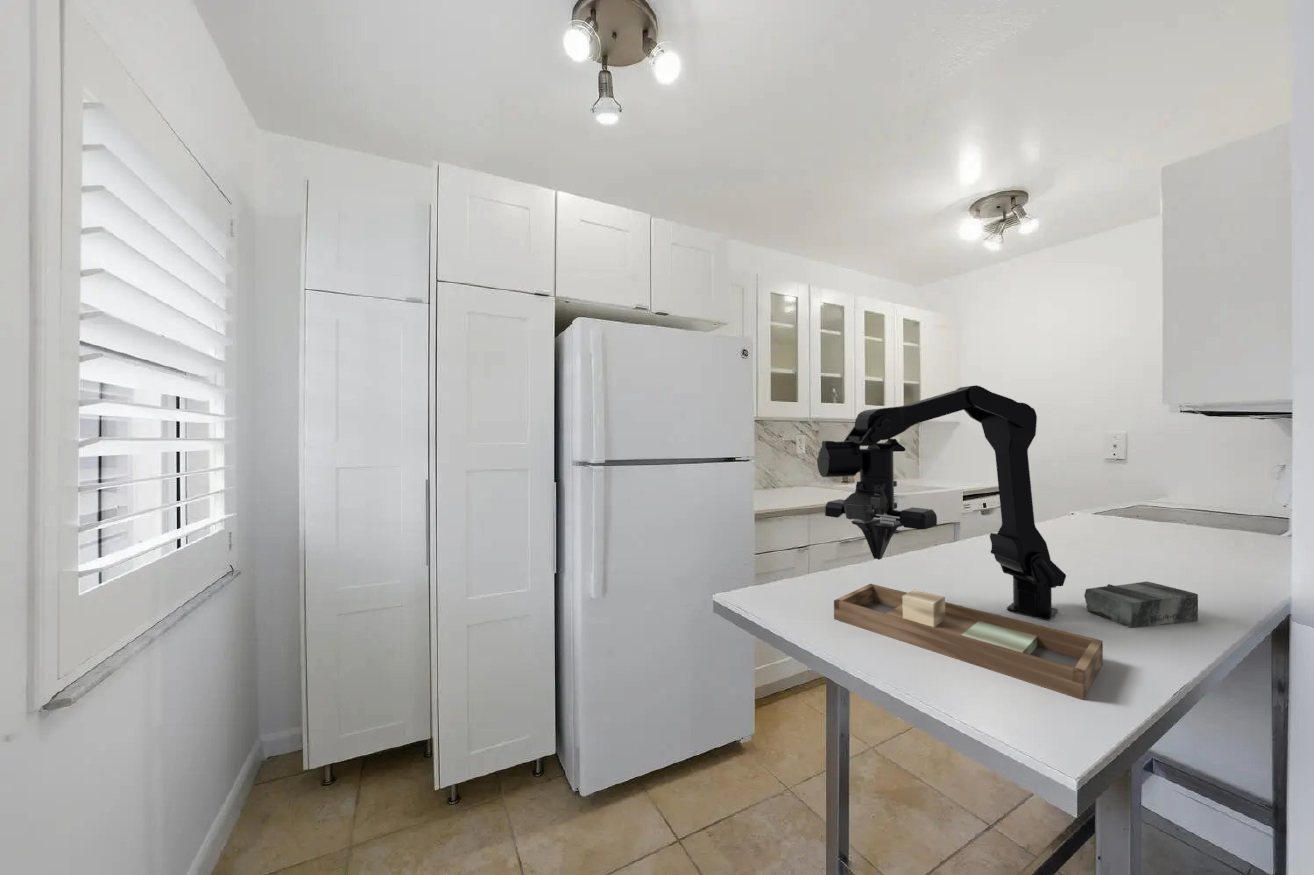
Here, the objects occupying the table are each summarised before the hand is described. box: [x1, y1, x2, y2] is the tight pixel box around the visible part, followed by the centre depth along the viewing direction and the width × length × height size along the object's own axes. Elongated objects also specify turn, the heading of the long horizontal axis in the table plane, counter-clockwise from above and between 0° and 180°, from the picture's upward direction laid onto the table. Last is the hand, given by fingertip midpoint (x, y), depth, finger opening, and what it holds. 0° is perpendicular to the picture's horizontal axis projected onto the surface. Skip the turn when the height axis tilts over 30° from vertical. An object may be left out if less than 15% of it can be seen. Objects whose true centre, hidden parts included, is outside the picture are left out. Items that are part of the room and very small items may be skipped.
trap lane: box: [833, 583, 1104, 700], centre depth 79 cm, size 14×35×4 cm, turn 39°
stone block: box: [1084, 580, 1199, 629], centre depth 87 cm, size 9×14×5 cm, turn 98°
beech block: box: [902, 589, 946, 627], centre depth 82 cm, size 5×5×4 cm
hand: (877, 558), depth 88 cm, fingers closed
